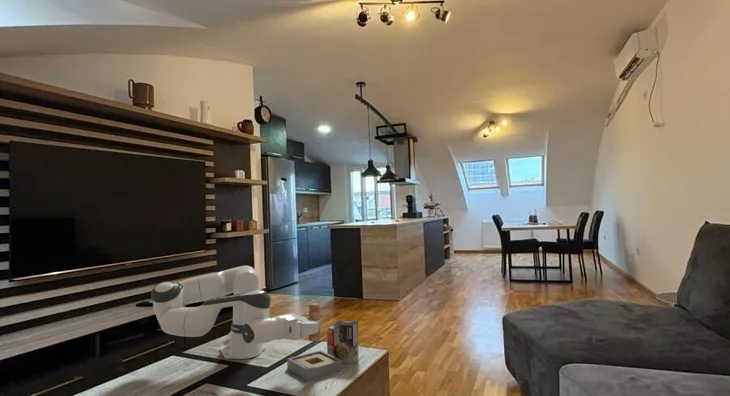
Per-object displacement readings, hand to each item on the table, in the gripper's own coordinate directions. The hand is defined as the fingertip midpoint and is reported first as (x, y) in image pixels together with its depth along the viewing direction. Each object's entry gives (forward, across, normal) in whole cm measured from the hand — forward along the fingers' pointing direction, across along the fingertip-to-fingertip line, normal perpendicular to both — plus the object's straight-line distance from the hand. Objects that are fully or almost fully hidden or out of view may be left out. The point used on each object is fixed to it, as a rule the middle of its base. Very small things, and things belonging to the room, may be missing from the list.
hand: (316, 320), depth 165 cm
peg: (-1, 0, -8) cm, 8 cm away
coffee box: (+15, 0, -20) cm, 25 cm away
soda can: (+16, -10, -20) cm, 28 cm away
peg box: (-1, 0, -20) cm, 20 cm away
